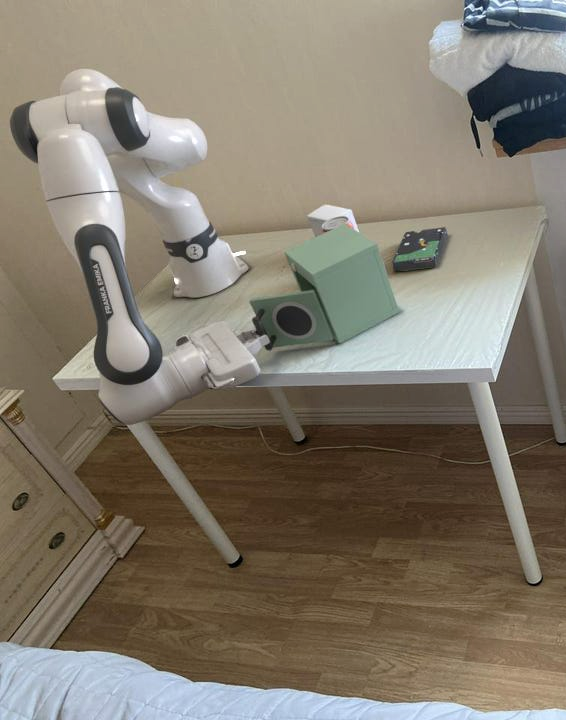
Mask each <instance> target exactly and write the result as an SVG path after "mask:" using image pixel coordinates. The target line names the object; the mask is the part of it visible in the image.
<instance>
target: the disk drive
mask: <svg viewBox="0 0 566 720" xmlns="http://www.w3.org/2000/svg"><path fill="white" fill-rule="evenodd" d="M448 236H449V234H448V230H447V227H446V226H441V227H436V228H435V227H434V228H428V229H422V230H421V231H420V232H417V231H415V230H411V231H406V232H405V233H404V235H403V237H402V239H401V241H400V244H399V246H398V248H397V250H396V252H395V254H394V256H393V259H392V261H391V265H392V267H393V271H394V272H404V271H413V270H421V269H430V268H435V267H438V265H439V262H440V260H441V256H442V254H443V251H444V249H445V245H446V242H447V239H448Z"/></svg>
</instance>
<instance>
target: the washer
mask: <svg viewBox="0 0 566 720" xmlns="http://www.w3.org/2000/svg"><path fill="white" fill-rule="evenodd" d="M283 253H284V256H285V258H286V260H287V262H288V265H289V267H290V269H291V272H292V274H293V277H294V279H295V281H296V284H297V286H298V288H299V289H298V290H299V292H302V291H309V290H315V292H316V295H317V297H318V300H319V302H320V305H321V307H322V310H323V312H324V315H325V317H326V319H327V322H328V324H329V327H330V329H331V332H332V334H333V337H334V338H333V340H335V341H336V342H337V343H339V344H342V343H345V342H346V341H348V340H350V339H352V338H354V337H356V336H357V335H360V334H361V333H363V332H365V331H368V330H369V329H371V328H373V327H374V326H377V325H379V324H380V323H383V322H385V321H386V320H388V319H390V318H391V317H393V316H395V315H398V314H399V313H400V309H399V306H398V303H397V300H396V297H395V294H394V291H393V288H392V286H391V283H390V282H391V281H390V279H389V276H388V272H387V269H386V267H385V264H384V260H383V258H382V255H381V251H380V249H379V245H378V243H377V242H375V241H374V240H372V239H370V238H369V237H367V236H365V235H364V234H362V233H360V231H359V232H357V231H356V230H354V229H353V228H351V227H349V226H348V225H346V224H343V225H341V226H339V227H337V228H335V229H333V230H330V231H328V232H326V233H324V234H322V235H319V236H317V237H315V236H314V237H313V238H311V239H309V240H306V241H305V242H302V243H300V244H298V245H296V246H294V247H291V248H289V249H287V250H285V251H283Z"/></svg>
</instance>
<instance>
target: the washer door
mask: <svg viewBox="0 0 566 720" xmlns="http://www.w3.org/2000/svg"><path fill="white" fill-rule="evenodd" d="M248 301H249V304H250V306H251V308H252V310H253V312H254V314H255V316H254V317H252V319H251V321H252V324H253V326H254V327H255V328H256V330H257V332H258V334H259V335H261V334H262V333H265V334H266V335H267V336H268V338H269V340H270V343H269V344H267V345H265V346H263V347H264V348H265V350H266V351H272V350H273V349H274V348H280V347H288V346H297V345H304V344H313V343H320V342H330V341H334V337H333V334H332V332H331V329H330V327H329V324H328V322H327V319H326V317H325V315H324V312H323V310H322V307H321V305H320V302H319V300H318V297H317V295H316V292H315V290H309V291H302V292H301V291H295V292H289V293H282V294H281V293H280V294H273V295H267V296H260V297H253V298H250V299H249V300H248Z"/></svg>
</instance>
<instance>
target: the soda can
mask: <svg viewBox="0 0 566 720" xmlns="http://www.w3.org/2000/svg"><path fill="white" fill-rule="evenodd" d="M343 224H346V225H348V226H349V227H351V228H353V229H354V226H353V224H352V223H351V222H350V221H349V219H348V217H346V216H339V217H335V218H332V219H329V220H327V221H326V222H325V223H323V225H322V229H323V231H322V234H324V233H326V232H328V231H330V230H333V229H335V228H337V227H339V226H341V225H343ZM354 230H355V229H354Z"/></svg>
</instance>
